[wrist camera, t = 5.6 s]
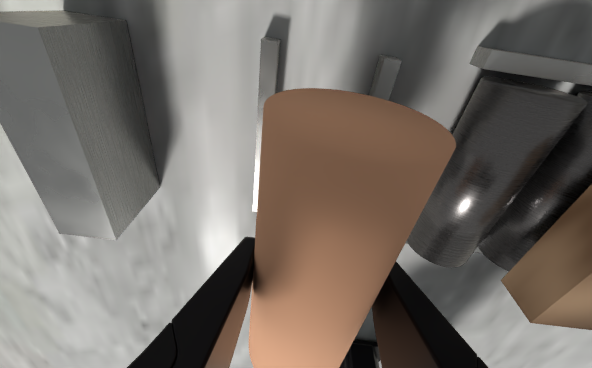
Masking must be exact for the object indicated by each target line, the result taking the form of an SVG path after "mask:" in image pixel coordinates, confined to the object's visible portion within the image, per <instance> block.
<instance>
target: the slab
mask: <svg viewBox="0 0 592 368" xmlns="http://www.w3.org/2000/svg"><path fill="white" fill-rule="evenodd" d="M501 281H502V283H503V284H504V286H505V287H506V288H507V290H508V291H509V293H510V294H511V296H512V297H513V299H514V300H515V301H516V303H517V304H518V306H519V307H520V309H521V310H522V312H523V313H524V314H525V316H526V317H527V319H528V320H529V322H530V323H536V324H545V325H553V326H562V327H570V328H579V329H588V330H592V184H591V185H590V186H589V187H588V188H587V190H586V191H585V192H584V193H583V194H582V195H581V196H580V197H579V198H578V199H577V200H576V201H575V202H574V203H573V204H572V205H571V206H570V208H569V209H568V210H567V211H566V212H565V213H564V214H563V215H562V216H561V217H560V218H559V219H558V220H557V221H556V222H555V223H554V224H553V226H552V227H551V228H550V229H549V230H548V231H547V232H546V233H545V234H544V235H543V236H542V237H541V238H540V239H539V240H538V241H537V243H536V244H535V245H534V246H533V247H532V248H531V249H530V250H529V251H528V252H527V253H526V254H525V255H524V256H523V257H522V258H521V259H520V261H519V262H518V263H517V264H516V265H515V266H514V267H513V268H512V269H511V270H510V271H509V272H508V273H507V274H506V275H505V276H504V277H503V279H502V280H501Z"/></svg>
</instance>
